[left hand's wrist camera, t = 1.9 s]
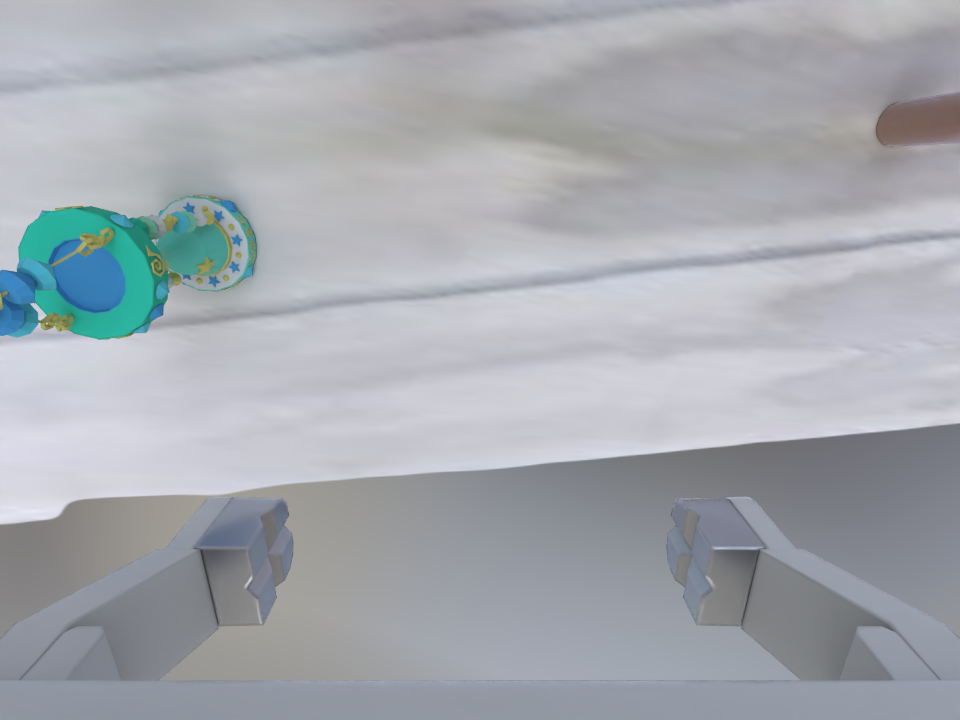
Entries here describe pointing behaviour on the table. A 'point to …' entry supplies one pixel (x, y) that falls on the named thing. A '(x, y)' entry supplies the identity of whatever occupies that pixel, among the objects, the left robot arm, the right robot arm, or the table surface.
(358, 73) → the table surface
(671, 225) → the table surface
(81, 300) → the decorative hourglass
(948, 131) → the brown piece
